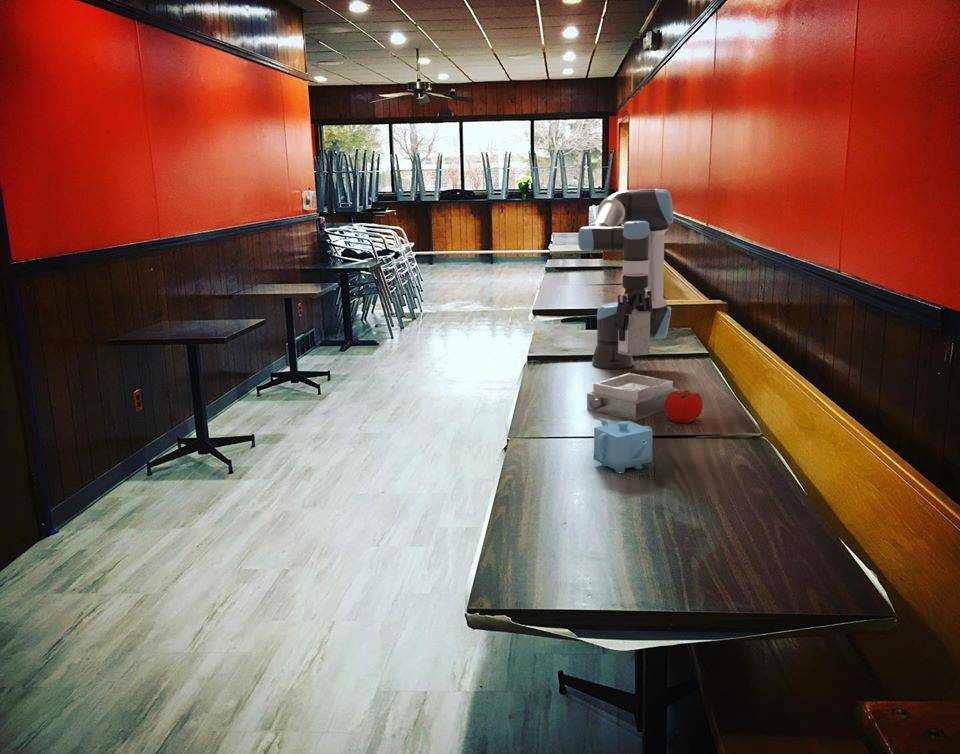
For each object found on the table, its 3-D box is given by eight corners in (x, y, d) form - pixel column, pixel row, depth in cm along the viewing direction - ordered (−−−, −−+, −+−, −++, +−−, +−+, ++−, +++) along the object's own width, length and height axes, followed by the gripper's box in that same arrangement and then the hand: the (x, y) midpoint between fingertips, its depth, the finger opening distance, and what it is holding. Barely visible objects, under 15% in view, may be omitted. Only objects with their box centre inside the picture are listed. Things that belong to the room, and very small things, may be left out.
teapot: (618, 483, 185) (619, 437, 183) (574, 460, 201) (574, 417, 198) (671, 470, 192) (672, 425, 190) (625, 449, 208) (625, 407, 205)
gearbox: (630, 394, 259) (630, 371, 257) (677, 404, 246) (678, 380, 244) (580, 411, 242) (580, 386, 240) (629, 423, 229) (629, 397, 227)
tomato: (708, 419, 230) (709, 390, 228) (689, 428, 223) (690, 399, 221) (675, 413, 237) (676, 385, 235) (656, 421, 230) (657, 392, 228)
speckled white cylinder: (648, 348, 245) (649, 309, 242) (651, 355, 236) (652, 314, 233) (616, 348, 246) (617, 309, 243) (618, 355, 236) (619, 314, 233)
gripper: (646, 270, 245) (645, 341, 250) (601, 277, 230) (601, 353, 236) (667, 271, 240) (665, 344, 245) (622, 279, 225) (621, 356, 230)
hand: (633, 348), depth 240 cm, fingers closed on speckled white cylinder, 9 cm apart
